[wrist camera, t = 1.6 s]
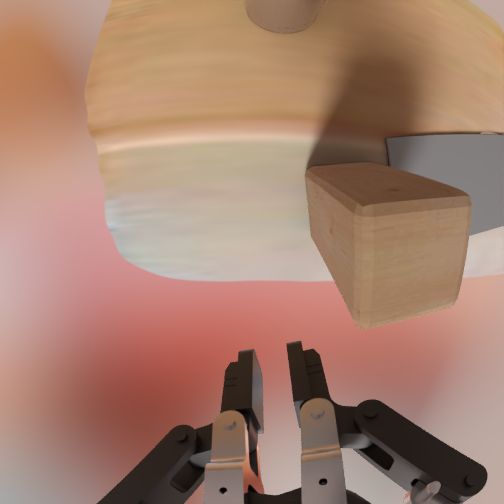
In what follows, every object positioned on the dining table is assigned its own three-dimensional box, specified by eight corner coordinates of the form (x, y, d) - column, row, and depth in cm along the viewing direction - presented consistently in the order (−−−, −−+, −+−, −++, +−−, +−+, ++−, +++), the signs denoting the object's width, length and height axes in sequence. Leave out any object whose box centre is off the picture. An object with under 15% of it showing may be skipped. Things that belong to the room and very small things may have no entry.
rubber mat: (385, 138, 31) (387, 138, 31) (503, 134, 29) (504, 135, 28) (395, 253, 38) (396, 254, 37) (503, 224, 35) (505, 225, 35)
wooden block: (302, 166, 33) (358, 202, 15) (374, 160, 33) (477, 192, 14) (310, 240, 37) (355, 337, 19) (377, 230, 36) (458, 309, 18)
